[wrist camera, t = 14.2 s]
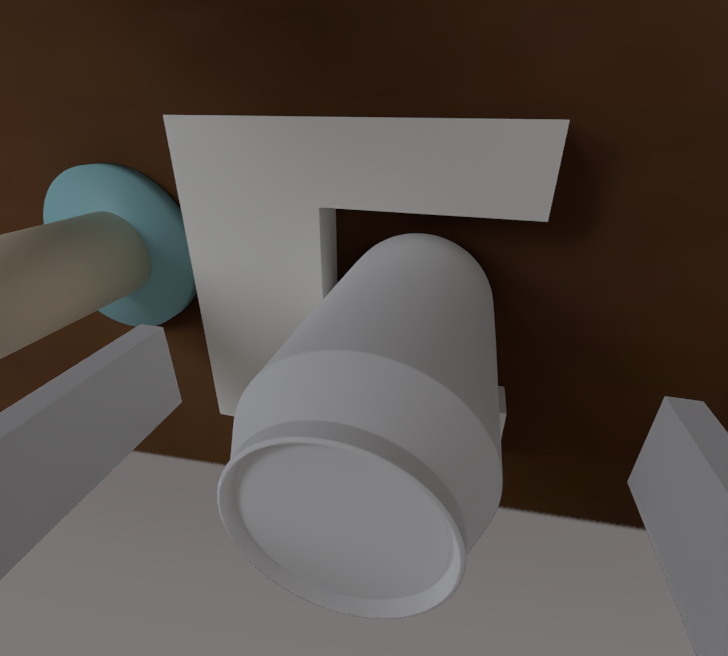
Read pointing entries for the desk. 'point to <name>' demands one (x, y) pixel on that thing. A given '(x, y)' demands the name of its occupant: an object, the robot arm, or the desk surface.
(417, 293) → the beverage can
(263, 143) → the u-shaped block
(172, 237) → the bobbin
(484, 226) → the desk surface
